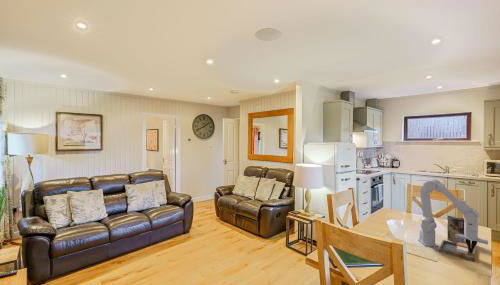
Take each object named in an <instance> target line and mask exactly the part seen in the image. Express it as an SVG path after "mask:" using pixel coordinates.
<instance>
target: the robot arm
mask: <svg viewBox="0 0 500 285" xmlns="http://www.w3.org/2000/svg"><path fill="white" fill-rule="evenodd" d="M433 191H435V192H437V193H441V194H443V195H444V196H445V197H446V198H447V199H448V200H449V201H450V202H452V205H453V207H454V208H456V209H457V210H458V211H459V212H460V213H461V214H462V215H463V218H464V220H465V221H464V235H461V234H455V238H461V239H465V242H464V243H465V244H467V246H468V248H469V253H473V249H474V248H475V249H476V246H477V245H478V243H480V244H484V245H489V240H487V239H483V238H479V236H478V235H479V220H478V219H479V218H480V214H479V212H478V211H477V210H476V209H474V208H473V207H471V206H470V205H468V204H467V201H466V200H462V199H459V198H457V197H456V195H454V194H453V193H452V192H451V191H450V190H449V189H448V188H447V187H446V186H445V185H444V183H442V182H441V181H440V180H438V179H436V178H434V179H431V180H427V181H425V182H424V183H423V185H422V186H421V188H420V190H419V194H420V200H421V201H420V202H421V210H422V218H421V224H420V228H421V229H420V230H419V238H418V241H419V242H420V243H421V244H422V245H423V246H426V247H439V245H438V244H436V230H435V229H436V228H437V226H438V225H437V223H436V221H435V218H434V217H433V211H432V210H433V209H432V202H431V193H433Z"/></svg>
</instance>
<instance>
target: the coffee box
mask: <svg viewBox="0 0 500 285" xmlns="http://www.w3.org/2000/svg"><path fill="white" fill-rule="evenodd" d="M455 234H461V235H465V217H457V216H453V215H448V216H447V241H450V242H454V243H458V242H460V243H466V242H465V239H461V238H455Z"/></svg>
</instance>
